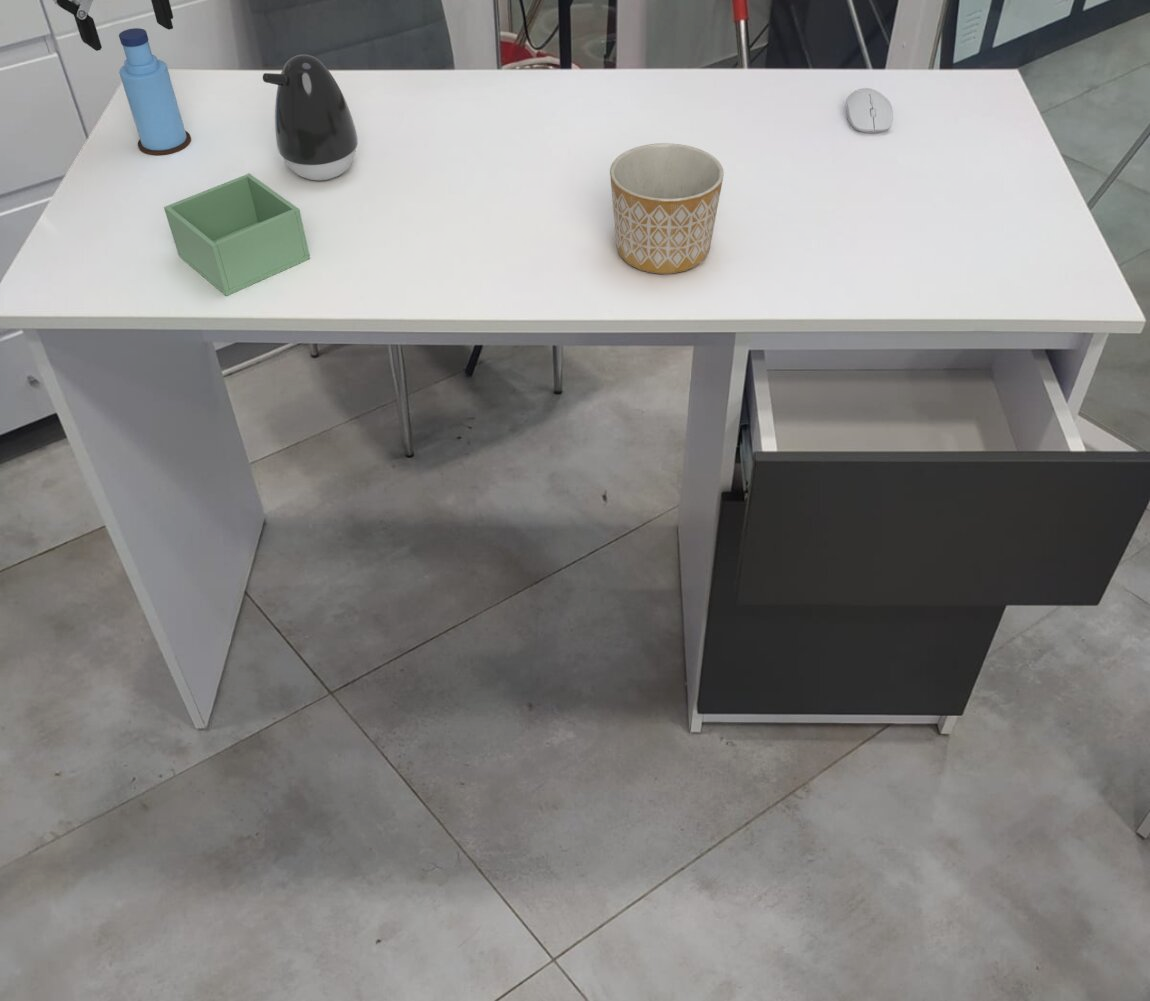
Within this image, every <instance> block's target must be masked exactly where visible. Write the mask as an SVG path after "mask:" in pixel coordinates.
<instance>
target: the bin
mask: <svg viewBox="0 0 1150 1001" xmlns="http://www.w3.org/2000/svg"><path fill="white" fill-rule="evenodd" d="M163 210H164V212H165V216H166V219H167V222H168V225H169V229H170V231H171V232H170V233H171V236H172V238H173V241H174V242H173V243H174V245H175V248H176V252H177V254H178V257H179V258H180V259H181V260H183V262H185V263H186V264H187V265H188V266H190V267H191V268H192V269H193V270H195V271H196V272H197V273H198V274H199V275H201V276H202V278H204V279H205V280H206V281H207V282H208V283H210V284H211V285H212V286H214V288H215V289H216V290H218V291H219V292H221V293H222V294H223V295H224V296H225V297H228V296H230V295H232V294H234V293H236V292H237V293H238V291H241V290H243V289H246V288H248V287H250V286H252V285H254V284H257V283H259V282H262V281H263V280H266V279H268V278H270V277H273V276H274V275H277V274H279V273H282V272H283V271H285V270H287V269H290V268H293V267H294V266H296V265H297V266H298V265H299V264H301V263H303V262H306V261H308V260H310V259H311V256H310V251H309V247H308V242H307V237H306V234H305V233H306V232H305V229H304V224H303V219H302V214H301V209H300V208H299V207H297V206H296V205H295V204H293V203H292V202H290V201H289V200H288V199H286V198H285V197H283V196H282V195H281V194H279V193H278V192H276V191H275V190H273V189H272V188H271V187H269V186H268V185H266V184H265V183H264V182H262V180H259V179H258V178H257V177H255V176H254V175H253V174H251V173H246V174H244V175H241V176H239V177H236V178H234V179H231V180H229V181H226V182H224V183H221V184H219V185H216V186H214V187H211V188H208V189H206V190H204V191H201V192H199V193H196V194H193V195H192V196H191V195H190V196H189V197H186V198H183V199H180V200H179V201H176V202H173V203H171V204H168V205H166V206H164V207H163Z"/></svg>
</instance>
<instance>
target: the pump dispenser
mask: <svg viewBox="0 0 1150 1001" xmlns="http://www.w3.org/2000/svg"><path fill="white" fill-rule="evenodd" d="M262 81H263V83H266V84H271V85H275V86H277V89H276V94H275V104H274V130H275V140H276V146H277V150H278V153H279V155H280V157H281V158H282V159H283V160H284V163H286V165H287V166H288V168H289V169H290V170H291V171H292V172H293V173H294V174H296V175H298V176H299V177H301V178H303V179H306V180H311V181H327V180H328V181H329V180H331V179H334V178H337V177H339V176H341V175H342V174H344V173H345V172H346V171H348V170H349V168H350V167H351V165H352V164H353V162H354V159H355V155H356V150H357V147H358V143H359V140H358V133H357V129H356V125H355V122H354V119H353V116H352V112H351V110H350V108H349V105H348V102H347V101H346V98H345V96H344V94H343V92H342V90H341V88H340V85H338V83H337V81H336V79H335V78H334V76H333V75H332V73H331V72H330V70H329V69H328V68H327V67H326V65H325V64H324V63H323V62H322V61H321V60H320V59H318V58H317V57H315V56H313V55H310V54H305V53H304V54H303V53H302V54H297V55H295V56H292V57H291V58H289V59H288V60H287V61H286V62H285V64H284V65H283V68H282V70H281V72H280V73H274V72H273V73H271V72H265V73H263V74H262Z"/></svg>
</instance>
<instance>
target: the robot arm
mask: <svg viewBox="0 0 1150 1001" xmlns="http://www.w3.org/2000/svg"><path fill="white" fill-rule="evenodd" d="M52 1H53V3H54V4H55V5H57V6H58V7H60V8H61V9H63V10H64V11H66V12H68V13H70V14H71V15H73V17H74V20H75V23H76V27H77V30H78V33H79V36H80V39H81V41H82V43H84V44H85V45H87V46H88V47H90V48H91V49H93V50H95V52H99V51H101V49H102V48H103V46H102V43H101V40H100V36H99V34H98V33H99V32H98V30H97V27H96V23H95V21H94V18H93V17H92V16H91V15H89V12H90V9H91V7H92V4H93V2H94V0H52ZM150 1H151V6H152V9H153V12H154V16H155V20H156V23H157V24H158V25H160V26H161V27H162V28H164V29H166V30H168V31H169V30H173V29H174V26H173V21H172V20H173V19H174V14H173V11H172V6H171V2H170V0H150Z"/></svg>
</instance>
